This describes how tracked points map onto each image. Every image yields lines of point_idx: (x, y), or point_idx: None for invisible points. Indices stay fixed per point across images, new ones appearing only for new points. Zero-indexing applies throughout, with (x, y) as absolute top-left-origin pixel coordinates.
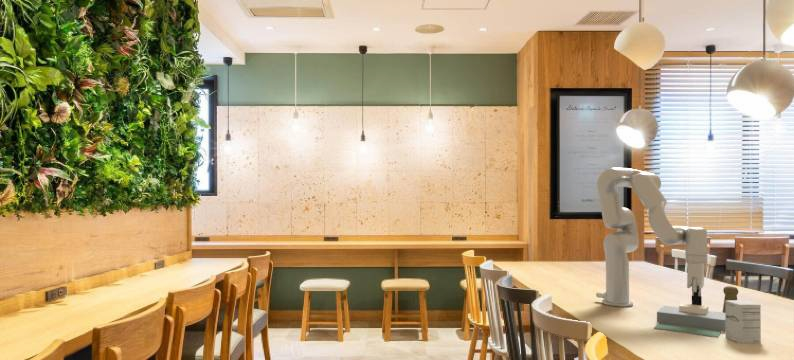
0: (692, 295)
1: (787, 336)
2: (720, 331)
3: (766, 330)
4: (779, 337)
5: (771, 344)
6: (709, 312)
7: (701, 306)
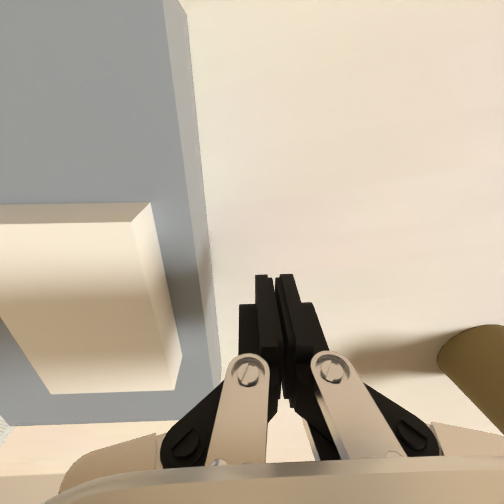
0: (229, 365)
1: None
2: None
3: None
4: None
5: (4, 458)
6: None
7: (123, 364)
